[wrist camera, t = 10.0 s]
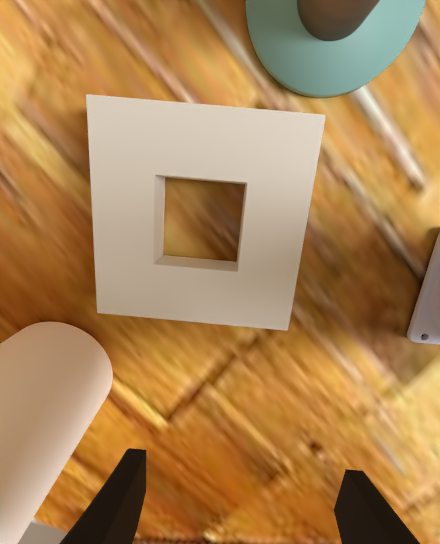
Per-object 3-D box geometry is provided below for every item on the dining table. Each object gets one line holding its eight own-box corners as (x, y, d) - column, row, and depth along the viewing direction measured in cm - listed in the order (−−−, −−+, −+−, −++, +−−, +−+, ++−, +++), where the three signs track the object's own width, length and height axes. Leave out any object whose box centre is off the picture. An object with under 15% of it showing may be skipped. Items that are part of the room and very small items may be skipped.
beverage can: (18, 303, 20) (-286, 461, 8) (126, 335, 20) (-16, 527, 8) (9, 390, 22) (-238, 611, 10) (106, 417, 22) (-27, 658, 11)
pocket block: (310, 127, 16) (325, 114, 13) (280, 313, 19) (287, 330, 17) (108, 109, 16) (86, 94, 13) (113, 298, 19) (97, 312, 17)
